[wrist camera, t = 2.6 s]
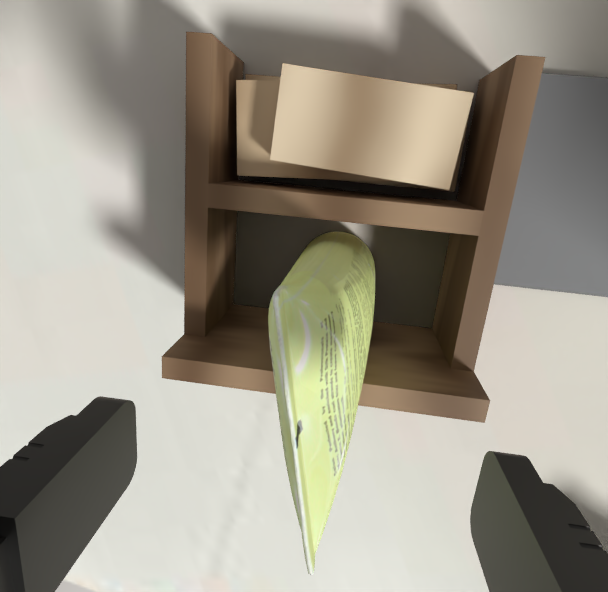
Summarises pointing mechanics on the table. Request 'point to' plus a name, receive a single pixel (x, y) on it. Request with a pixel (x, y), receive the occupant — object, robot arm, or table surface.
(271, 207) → the rack
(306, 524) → the tube
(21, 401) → the table surface
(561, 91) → the mat
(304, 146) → the offcut stack
